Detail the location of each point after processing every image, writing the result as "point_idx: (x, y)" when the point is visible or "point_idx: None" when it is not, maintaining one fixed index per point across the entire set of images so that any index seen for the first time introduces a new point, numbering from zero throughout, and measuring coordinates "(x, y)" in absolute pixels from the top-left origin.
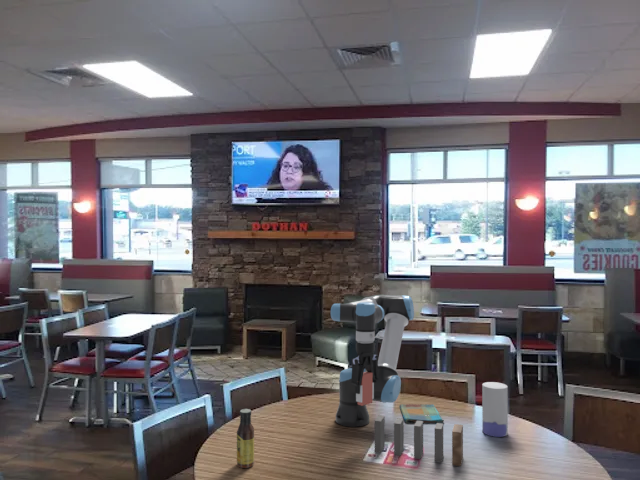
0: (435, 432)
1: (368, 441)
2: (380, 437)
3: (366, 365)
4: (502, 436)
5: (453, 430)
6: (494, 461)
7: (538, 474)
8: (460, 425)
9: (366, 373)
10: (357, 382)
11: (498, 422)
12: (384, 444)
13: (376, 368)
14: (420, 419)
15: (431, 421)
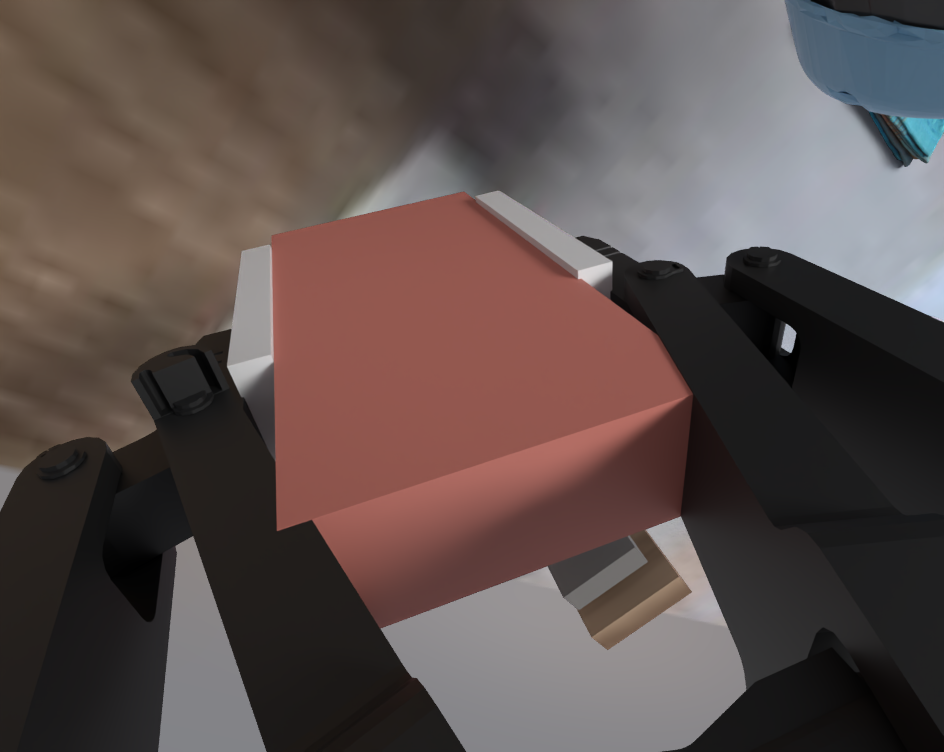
0: (556, 582)
1: (381, 138)
2: None
3: (792, 592)
4: None
5: (606, 629)
6: (659, 534)
7: (664, 612)
8: (680, 594)
9: (529, 551)
10: (162, 570)
11: None
12: None
13: (904, 508)
14: None
15: (890, 119)
